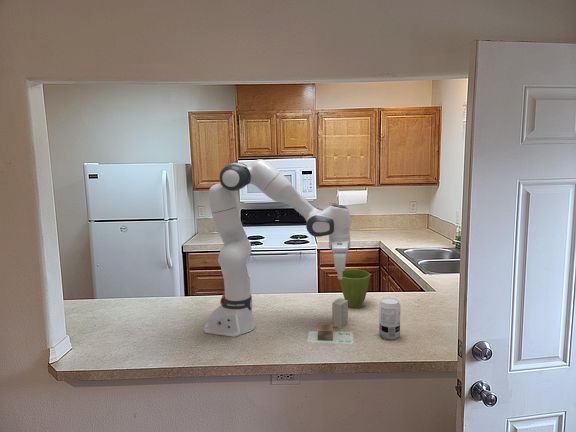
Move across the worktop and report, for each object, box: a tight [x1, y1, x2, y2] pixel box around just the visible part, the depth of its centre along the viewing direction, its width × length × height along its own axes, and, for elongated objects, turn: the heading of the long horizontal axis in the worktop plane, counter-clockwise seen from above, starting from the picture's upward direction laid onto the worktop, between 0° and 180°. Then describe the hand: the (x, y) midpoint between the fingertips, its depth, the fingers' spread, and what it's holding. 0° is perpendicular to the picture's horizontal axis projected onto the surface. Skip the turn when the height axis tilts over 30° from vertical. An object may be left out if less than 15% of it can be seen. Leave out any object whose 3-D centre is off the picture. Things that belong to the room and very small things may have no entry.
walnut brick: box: [317, 323, 334, 341], centre depth 163 cm, size 6×6×4 cm
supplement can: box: [378, 297, 401, 340], centre depth 165 cm, size 8×8×15 cm
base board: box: [307, 330, 354, 345], centre depth 163 cm, size 18×10×2 cm, turn 83°
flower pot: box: [339, 269, 371, 309], centre depth 198 cm, size 15×15×16 cm
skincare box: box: [331, 297, 349, 329], centre depth 174 cm, size 6×4×12 cm
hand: (340, 275), depth 171 cm, fingers open, 8 cm apart
